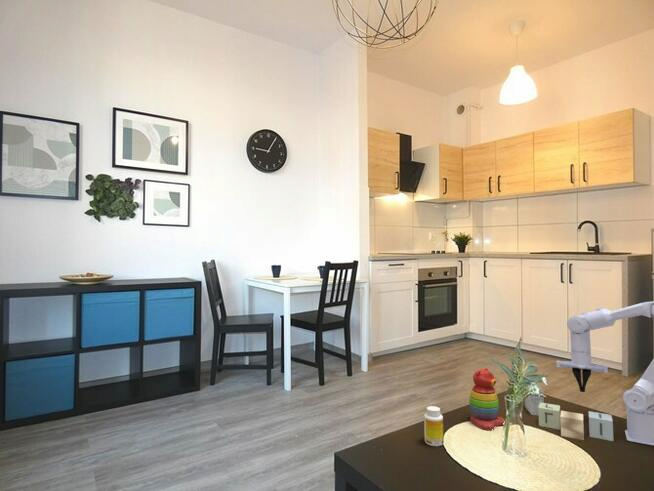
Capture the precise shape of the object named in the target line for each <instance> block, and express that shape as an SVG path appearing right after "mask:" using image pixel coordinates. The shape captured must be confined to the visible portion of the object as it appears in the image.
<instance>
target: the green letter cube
mask: <svg viewBox="0 0 654 491" xmlns="http://www.w3.org/2000/svg"><path fill="white" fill-rule="evenodd" d="M538 412H539V416H538V426H539V427H543V428H549V429H554V430H559V431H561V421H560V415H561V406H560V405H559V404H551V403H545V402H544V403H541V402H540V404H539V407H538Z"/></svg>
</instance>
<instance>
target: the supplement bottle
mask: <svg viewBox="0 0 654 491" xmlns="http://www.w3.org/2000/svg"><path fill="white" fill-rule="evenodd" d="M423 420H424V422H423V426H424V429H423V430H424V432H423V433H424V442H425V444H426V445H428V446H431V447H440V446H443V444H444V416H443V414H441V408H440V407H438V406H436V405H435V406H433V405H430V406H427V407H426V413H424V415H423Z"/></svg>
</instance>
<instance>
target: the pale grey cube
mask: <svg viewBox="0 0 654 491" xmlns="http://www.w3.org/2000/svg"><path fill="white" fill-rule="evenodd" d="M613 422H614V420H613V417H612V414H608V413H601V412H596V411H589V410H588V429H589V430H588V431H589V437H590V438H594V439H598V440H599V439H600V440H605V441H609V442H615V441H614V424H613Z"/></svg>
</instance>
